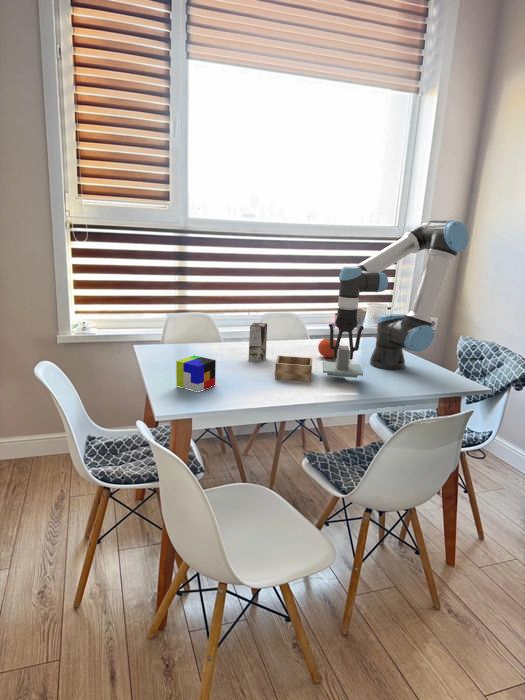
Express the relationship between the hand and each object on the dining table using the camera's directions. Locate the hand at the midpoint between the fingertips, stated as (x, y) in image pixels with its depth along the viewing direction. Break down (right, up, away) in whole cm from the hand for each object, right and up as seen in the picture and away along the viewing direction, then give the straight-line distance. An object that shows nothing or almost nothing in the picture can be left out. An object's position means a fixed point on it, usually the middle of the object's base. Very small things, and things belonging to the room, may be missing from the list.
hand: (342, 366), depth 184 cm
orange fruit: (-1, +3, +35) cm, 35 cm away
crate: (-19, -4, +3) cm, 20 cm away
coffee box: (-34, +2, +26) cm, 43 cm away
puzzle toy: (-56, -7, -12) cm, 57 cm away
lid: (0, -3, +1) cm, 3 cm away
